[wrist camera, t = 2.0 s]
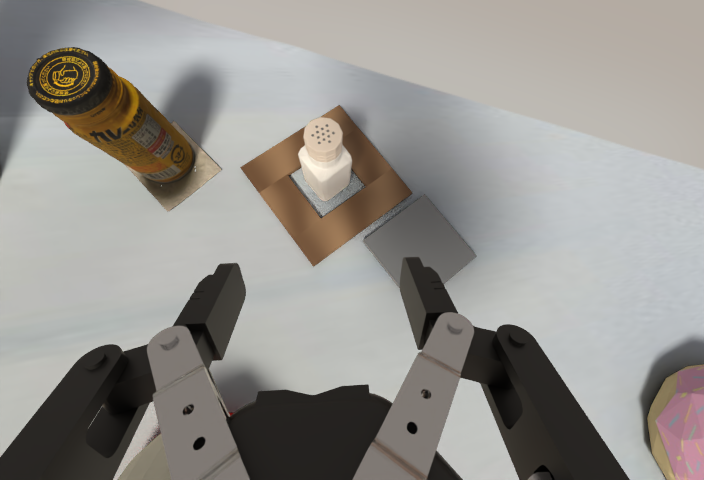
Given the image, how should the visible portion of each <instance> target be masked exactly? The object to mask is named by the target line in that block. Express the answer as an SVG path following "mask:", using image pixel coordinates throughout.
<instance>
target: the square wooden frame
mask: <svg viewBox="0 0 704 480" xmlns="http://www.w3.org/2000/svg"><path fill="white" fill-rule="evenodd" d="M321 117H323V118H331V119H332V120H333V121H335V122H336V123H338V124H339V126H340V128H341V130H342V132H343V139H342V145H343V146H344V147H345V148H346V150H347V151H348V152H349V154H350V155H351V158H352V166H351V169H352V171H353V172H354V173H355V174H356V175H357V177H358V178H359V179H360V180H361V182H362V183H363V184H364V185H365V188H364V189H362V190H361V191H359V192H358V193H357V194H355V195H354V196H352V197H351V198H349V199H348V200H347V201H345V202H344V203H342V204H341V205H340V206H338V207H337V208H335V209H334V210H333V211H331V212H330V213H328V214H327V215H325V216H324V217H323V218H320V217H319V215H318V214H317V213H316V212H315V210H314V209H313V208H312V206H311V205H310V204H309V202H308V201H307V200H306V199H305V197H304V196H303V195H302V193H301V192H300V191H299V189H298V188H297V187H296V185H295V184H294V183H293V182H292V180H291V179H290V178H289V175H291V174H292V173H294V172H295V171H297V170H298V169H300V168H301V163H300V159H299V156H298V153H299V151H300V149H301V148H302V147H303V146H304V145H305V142H304V138H303V136H304V130H305V127H306V126H305V127H304V128H302V129H301V130H299V131H297V132H296V133H294V134H293V135H291V136H290V137H288V138H286V139H285V140H283V141H282V142H280V143H278V144H277V145H275V146H274V147H272V148H271V149H269V150H267V151H266V152H264V153H263V154H261V155H259V156H258V157H256V158H255V159H253V160H252V161H250V162H248V163H247V164H245V165H244V166H242V167H240V168H241V169H242V170H243V172H244V173H245V175H246V176H247V177H248V179H249V180H250V181H251V183H252V184H253V185H254V187H255V188H256V189H257V191H258V192H259V193H260V195H261V196H262V198H263V199H264V200H265V202H266V203H267V204H268V206H269V207H270V208H271V210H272V211H273V212H274V214H275V215H276V216H277V218H278V219H279V220H280V222H281V223H282V225H283V226H284V227H285V229H286V230H287V231H288V233H289V234H290V235H291V237H292V238H293V239H294V241H295V242H296V243H297V245H298V246H299V247H300V249H301V250H302V252H303V253H304V254H305V256H306V257H307V258H308V260H309V261H310V262H311V264H312V265H313V266H315V265H317V264H318V263H319V262H321V261H322V260H323V259H325V258H326V257H327V256H329V255H330V254H331V253H333V252H334V251H335V250H337V249H338V248H339V247H341V246H342V245H344V244H345V243H346V242H348V241H349V240H350V239H352V238H353V237H354V236H356V235H357V234H358V233H360V232H361V231H362V230H364V229H365V228H366V227H368V226H369V225H371V224H372V223H373V222H375V221H376V220H377V219H379V218H380V217H381V216H383V215H384V214H385V213H387V212H388V211H389V210H391V209H392V208H393V207H395V206H396V205H398V204H399V203H400V202H402V201H403V200H404V199H406V198H407V197H408V196H410V195H411V194H412V192H411V190H410V189H409V188H408V187H407V186H406V184H405V183H404V182H403V181H402V180H401V178H400V177H399V176H398V175H397V174H396V173H395V171H394V170H393V169H392V168H391V167H390V165H389V164H388V163H387V162H386V161H385V159H384V158H383V157H382V156H381V155H380V153H379V152H378V151H377V150H376V149H375V147H374V146H373V145H372V144H371V143H370V141H369V140H368V139H367V138H366V137H365V135H364V134H363V133H362V132H361V131H360V129H359V128H358V127H357V126H356V125H355V123H354V122H353V121H352V120H351V119H350V117H349V116H348V115H347V114H346V113H345V111H344V110H343V109H342V108H341V107H340V105H339V106H337V107H335V108H334V109H332V110H331V111H329V112H328V113H326V114H324V115H323V116H321Z"/></svg>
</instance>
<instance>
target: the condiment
mask: <svg viewBox="0 0 704 480" xmlns="http://www.w3.org/2000/svg"><path fill="white" fill-rule="evenodd" d="M27 86H28V89H29V93H30V95H31V97H32V98H34V99H35V101H36V102H37V103H38V104H39V105H40V106H41V107H42V108H44V109H46V110H47V111H49V112H52V113H53V114H54V115H55V116H57V117H58V118H59V119H61V120H62V121H64V123H65V125H66V126H67V127H68V128H69V129H70V130H71V131H72V132H73V133H75V134H76V135H78V136H79V137H81V138H82V139H84V140H86V141H88V142H89V143H91V144H93V145H94V146H96V147H97V148H99V149H101V150H103V151H104V152H106V153H107V154H109V155H110V156H112V157H114V158H115V159H117V160H119V161H120V162H122V163H123V164H125V165H126V167H127V168H128V169H129V170H130V171H131V172H132V173H133V174H134V175H135V176H136V177H137V178H138V179H139V181H140V182H141V183H142V184H143V185H144V186H145V187H146V188H147V190H148V191H149V192H150V193H151V194H152V195H153V196H154V197H155V198H156V199H157V200H158V201H159V202H160V204H161V205H162V206H163V207H164V208H165V209H166V210H167V211H170V210H171V209H172V208H173V207H175V206H177V205H178V204H179V203H181V202H182V201H183V200H184V199H186V198H187V197H189V196H190V195H191V194H192V193H194V192H195V191H196V190H197V189H198V188H200V187H202V185H203V184H204V183H206V182H207V181H208V180H210V179H211V178H212V177H213V176H214V175H215V174H217V173H218V172H219V171H220V170H221V168H220V167H219V166H218V165H217V164H216V163H215V162H214V161H213V160H212V159H211V158H210V157H209V156H208V155H207V154H206V153H205V152H204V151H203V150H202V149H201V148H200V147H199V146H198V145H197V144H196V143H195V142H194V141H193V140H192V139H191V138H190V137H189V136H188V135H187V134H186V133H185V132H184V131H183V130H182V129H181V128H180V126H179V125H178V124H177V123H176V122H175V121H173V122H172V123H169V122H168V120H167V119H166V118H165V117H164V116H163V115H162V114H161V113H160V112H159V111H158V110H157V109H156V108H155V107H154V106H153V105H152V104H151V103H150V102H149V101H148V100H147V99H146V98H145V97H144V96H143V94H141V92H140V91H139V90H138V89H137V88H136V87H134V86H133V85H132V84H131V83H130V82H129V81H128V80H126V79H124V78H122V77H120V76H118V75H117V74H116V73H115V72H114V71H113V70H112V69H110V68H108V66H107V65H106V64H105V63H104V62H103V61H102V60H101V59H100V58H99V57H97V56H95V55H94V54H93V53H91V52H89V51H86V50H82V49H80V48H75V47H71V48H61V49H57V50H53V51H50V52H48V53H47V54H45V55H43V56H42V57H41V58H38V59H37V61H36V63H34V65H33V66H32V67H31V68H30V71H29V75H28V78H27ZM195 166H196V168H194V167H195ZM195 169H196V172H195ZM161 185H162V187H161Z"/></svg>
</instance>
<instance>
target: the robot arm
mask: <svg viewBox="0 0 704 480" xmlns="http://www.w3.org/2000/svg"><path fill="white" fill-rule="evenodd" d="M400 292H401V295H402V299H403V302H404V305H405V309H406V312H407V315H408V318H409V322H410V325H411V328H412V332H413V335H414V338H415V342H416V345H417V348H418V350H422V352H421V353H420V352H419V353H418V355H417V357H416V359H415V361H414V362H413V364H412V366H411V368H410V370H409V372H408V374H407V376H406V378H405V380H404V382H403V384H402V386H401V388H400V390H399V392H398V394H397V396H396V398H395V400H394V402H393V403H391V402H390V401H388V400H387V399H385V398H383V397H381V396H378V395H375V394H372V393H369V386H368V385H354V386H341V387H338V388H335V389H332V390H329V391H326V392H323V393H320V394H317V395H308V394H303V393H298V392H294V391H289V390H275V391H259V392H258V395H257V399H256V401H254V402H252V403H250V404H248V405H246V406H244V407H242V408H240V409H239V410H237V411H236V412H235V413H233V414H232V415H231V416H230V415H229V412H228V410H227V408H226V406H225V404H224V402H223V399H222V397H221V395H220V392H219V390H218V388H217V386H216V383H215V381H214V379H213V376H212V374H211V372H210V370H209V367H210V364H211V362H212V361H215V360H222V359H223V357H224V354H225V351H226V348H227V346H228V343H229V340H230V338H231V335H232V332H233V330H234V327H235V324H236V322H237V319H238V316H239V314H240V311H241V308H242V305H243V303H244V300H245V296H246V289H245V284H244V281H243V278H242V274H241V271H240V268H239V265H238V264H237V263H228V264H219V266H218V267H217V269H216V271H215V273H214V274H213V275H208V276H207V277H205V278H204V279H203V280H202V281H201V282H199V284H198V286H197V287H196V289H195V290H194V293H193V294H192V295H191V297H190V300H188V302H187V304H186V305H185V307H184V308H183V310H182V312H181V313H180V315H179V317H178V318H177V320H176V322H175V323H174V325H173V326H172V327H169V328H167V329H164V330H163V331H161V332H159V333H158V334H157V335H155V336H154V337H153V338H152V339H151V341H150V342H149V344H147V345H144V346H141V347H138V348H134V349H131V350H128V351H124V352H123V351H122V349H121V348H120V347H119V346H117V345H113V344H110V345H104V346H101V347H98V348H96V349H93V350H92V351H90V352H88V353H87V354H85V355H84V356H82V357H81V358H80V359H79V360H78V361H77V362H76V363H75V364H74V365H73V367H72V368H71V369H70V370H69V372H68V373H67V374H66V375H65V377H64V378H63V379H62V380H61V382H60V383H59V384H58V386H57V387H56V388H55V389H54V391H53V392H52V393H51V394H50V396H49V397H48V398H47V399H46V401H45V402H44V403H43V404H42V406H41V407H40V408H39V409H38V411H37V412H36V413H35V414H34V416H33V417H32V418H31V419H30V421H29V422H28V423H27V424H26V426H25V427H24V428H23V429H22V431H21V432H20V433H19V435H18V436H17V437H16V438H15V440H14V441H13V442H12V443H11V445H10V446H9V447H8V448H7V450H6V451H5V452H4V453H3V455H2V456H1V457H0V480H113V478H114V476H115V474H116V472H117V470H118V468H119V465H120V463H121V461H122V459H123V457H124V455H125V453H126V451H127V449H128V447H129V445H130V443H131V441H132V438H133V436H134V434H135V432H136V430H137V428H138V426H139V424H140V422H141V420H142V418H143V416H144V414H145V411H146V409H147V407H148V405H149V403H150V402H153V401H154V406H155V410H156V414H157V419H158V423H159V428H160V432H161V436H162V441H163V445H164V450H165V454H166V458H167V463H168V467H169V471H170V476H171V480H463V479H462V478H461V477H460V476H459V475H458V474H457V473H456V472H455V471H454V469H453V468H452V467H451V466H450V465H449V464H448V463H447V462H446V461H445V459H444V458H443V457H442V456H441V455H440V454H439V453H438V452H437V451H436V449H437V446H438V443H439V440H440V437H441V434H442V431H443V428H444V425H445V422H446V419H447V416H448V413H449V410H450V407H451V404H452V401H453V398H454V395H455V391H456V388H457V385H458V382H459V379H460V378H464V379H468V380H472V381H476V382H479V383H480V384H481V386H482V389H483V391H484V393H485V396H486V398H487V401H488V403H489V406H490V408H491V411H492V413H493V416H494V418H495V421H496V423H497V425H498V428H499V430H500V433H501V435H502V438H503V440H504V443H505V445H506V448H507V450H508V452H509V455H510V457H511V460H512V462H513V465H514V467H515V470H516V472H517V475H518V477H519V480H630V479H629V478H628V477H627V475H626V474H625V472H624V471H623V469H622V468H621V466H620V465H619V463H618V462H617V460H616V459H615V457H614V456H613V454H612V453H611V451H610V450H609V448H608V447H607V445H606V444H605V442H604V441H603V439H602V438H601V436H600V435H599V433H598V432H597V430H596V429H595V427H594V426H593V424H592V423H591V421H590V420H589V419H588V417H587V416H586V414H585V413H584V411H583V410H582V408H581V407H580V405H579V404H578V402H577V401H576V399H575V398H574V396H573V395H572V393H571V392H570V390H569V389H568V387H567V386H566V384H565V383H564V381H563V380H562V378H561V377H560V375H559V374H558V372H557V371H556V369H555V368H554V366H553V365H552V363H551V362H550V361H549V359H548V358H547V356H546V355H545V353H544V352H543V350H542V349H541V347H540V346H539V344H538V343H537V341H536V340H535V338H534V337H533V336H532V335H531V334H530V333H529V332H527V331H526V330H524V329H522V328H520V327H518V326H515V325H508V324H507V325H502V326H500V327H499V328H498V329H497V332H495V331H491V330H486V329H481V328H478V327H475V326H473V325H472V324H471V322H470V321H469V320H468V319H467V318H465V317H464V316H462V315H460V314H458V312H457V310H456V308H455V306H454V304H453V302H452V300H451V298H450V296H449V294H448V292H447V290H446V289H445V287H444V285H443V283H442V281H441V279H440V277H439V275H438V273H437V272H436V271H435V270H433V269H432V268H431V267H424V266H423V264H422V262H421V259H420V258H419V257H404V258H403V261H402V268H401V275H400ZM101 406H102V407H101ZM100 408H101V409H100ZM99 410H100V411H99ZM98 411H99V412H98ZM97 413H98V414H97ZM96 415H97V416H96ZM95 416H96V417H95ZM94 418H95V419H94ZM93 419H94V420H93ZM92 421H93V422H92ZM91 423H92V424H91ZM90 424H91V425H90ZM89 426H90V427H89ZM88 428H89V429H88Z"/></svg>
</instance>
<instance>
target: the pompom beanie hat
mask: <svg viewBox="0 0 704 480" xmlns="http://www.w3.org/2000/svg"><path fill="white" fill-rule="evenodd" d="M232 414H233V413H229V415H230V416H231V415H232ZM118 480H171V476H170V471H169V467H168V463H167V458H166V454H165V450H164V445H163V441H162V436H161V434H159V435H158V436H157V437H156V438H155V439H154V440H153V441H152V442H150V443H149V444H148V445H147V446H146V447H145V448H144V449H143V450H142V451H141V452H139V453H138V454H137V455H136V456H135V457H134V459H133V460H132V461H131V462H130V463H129V464H128V466H127V467H126V468H125V470H124V471H123V473H122V474H121V475H120V477H119V478H118Z"/></svg>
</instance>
